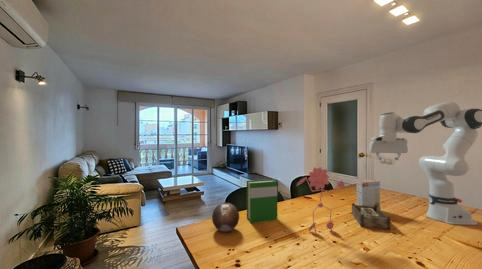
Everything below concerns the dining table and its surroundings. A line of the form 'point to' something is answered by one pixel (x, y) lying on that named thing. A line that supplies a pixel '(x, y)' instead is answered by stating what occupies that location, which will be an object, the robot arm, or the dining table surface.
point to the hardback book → (261, 200)
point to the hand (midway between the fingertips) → (388, 160)
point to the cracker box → (368, 193)
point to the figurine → (319, 180)
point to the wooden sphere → (225, 217)
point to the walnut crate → (371, 222)
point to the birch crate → (369, 212)
